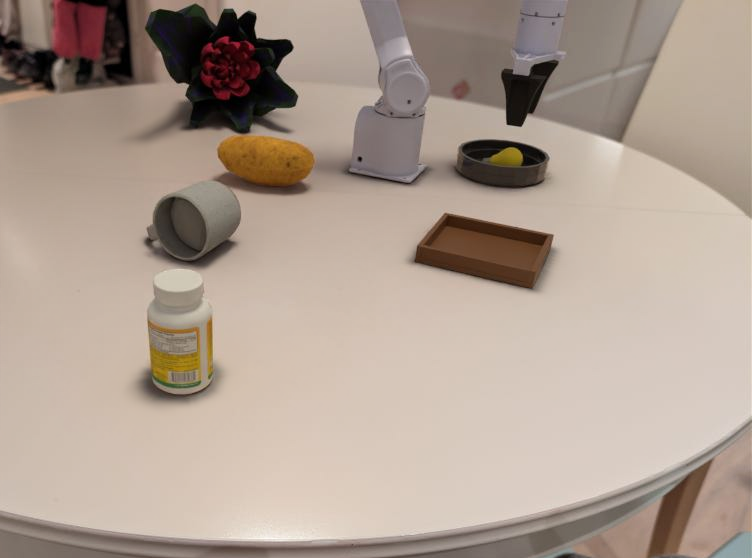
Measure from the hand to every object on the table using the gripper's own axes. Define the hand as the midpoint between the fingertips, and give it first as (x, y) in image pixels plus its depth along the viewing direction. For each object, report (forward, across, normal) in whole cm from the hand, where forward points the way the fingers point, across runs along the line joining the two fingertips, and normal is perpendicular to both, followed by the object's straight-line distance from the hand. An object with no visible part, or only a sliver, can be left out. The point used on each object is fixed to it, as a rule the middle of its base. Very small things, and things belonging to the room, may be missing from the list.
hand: (520, 118), depth 105 cm
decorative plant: (+9, +2, +48) cm, 49 cm away
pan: (+8, +1, +2) cm, 9 cm away
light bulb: (+8, +1, +2) cm, 8 cm away
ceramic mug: (+9, -44, +27) cm, 53 cm away
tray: (+8, -29, -4) cm, 31 cm away
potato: (+9, -21, +29) cm, 37 cm away
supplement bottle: (+9, -67, +13) cm, 69 cm away
